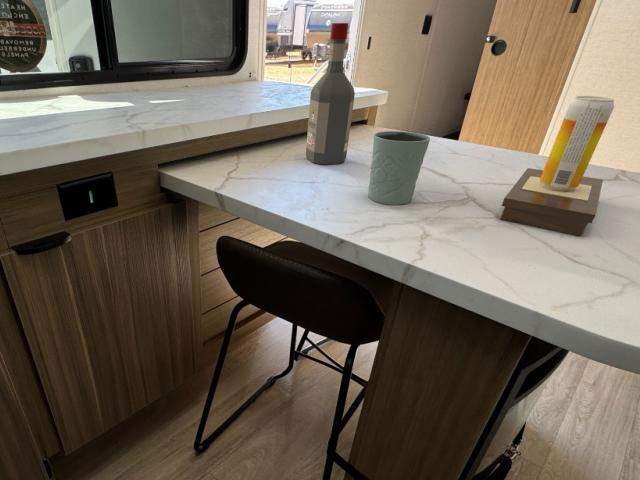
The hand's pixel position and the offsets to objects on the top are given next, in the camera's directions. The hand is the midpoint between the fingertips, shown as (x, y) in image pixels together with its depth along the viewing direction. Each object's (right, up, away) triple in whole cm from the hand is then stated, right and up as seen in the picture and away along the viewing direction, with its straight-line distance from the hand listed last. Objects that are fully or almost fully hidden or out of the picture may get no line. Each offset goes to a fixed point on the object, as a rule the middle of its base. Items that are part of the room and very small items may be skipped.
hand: (609, 13), depth 89 cm
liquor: (-57, -25, +20) cm, 65 cm away
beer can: (-20, -41, -12) cm, 47 cm away
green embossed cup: (-49, -41, -4) cm, 64 cm away
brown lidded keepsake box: (-20, -44, -10) cm, 50 cm away
